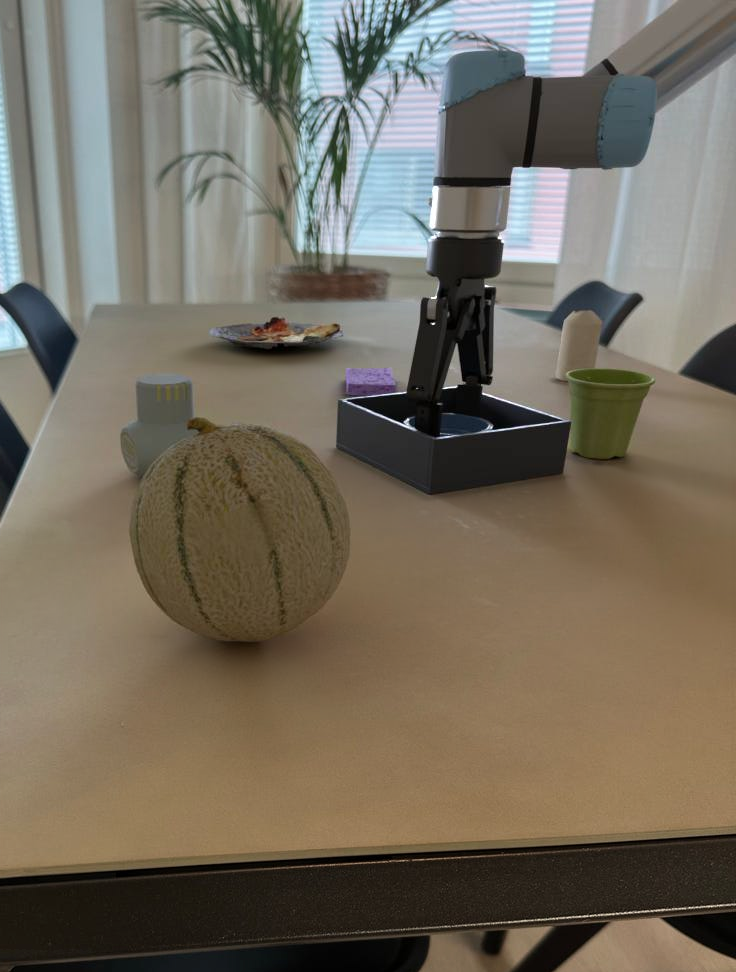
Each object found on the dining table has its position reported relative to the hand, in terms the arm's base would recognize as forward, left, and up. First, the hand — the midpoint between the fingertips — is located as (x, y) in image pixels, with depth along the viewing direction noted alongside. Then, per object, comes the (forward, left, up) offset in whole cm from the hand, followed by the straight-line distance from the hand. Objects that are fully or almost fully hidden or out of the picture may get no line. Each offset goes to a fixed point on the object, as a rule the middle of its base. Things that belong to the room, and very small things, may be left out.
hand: (444, 452), depth 102 cm
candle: (+28, -44, -1) cm, 52 cm away
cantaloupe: (-29, +38, -1) cm, 48 cm away
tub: (0, 0, -1) cm, 1 cm away
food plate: (+76, -16, -1) cm, 78 cm away
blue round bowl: (0, 0, 0) cm, 0 cm away
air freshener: (+8, +30, -1) cm, 31 cm away
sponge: (+36, -12, -1) cm, 38 cm away
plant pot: (-5, -18, -1) cm, 18 cm away
